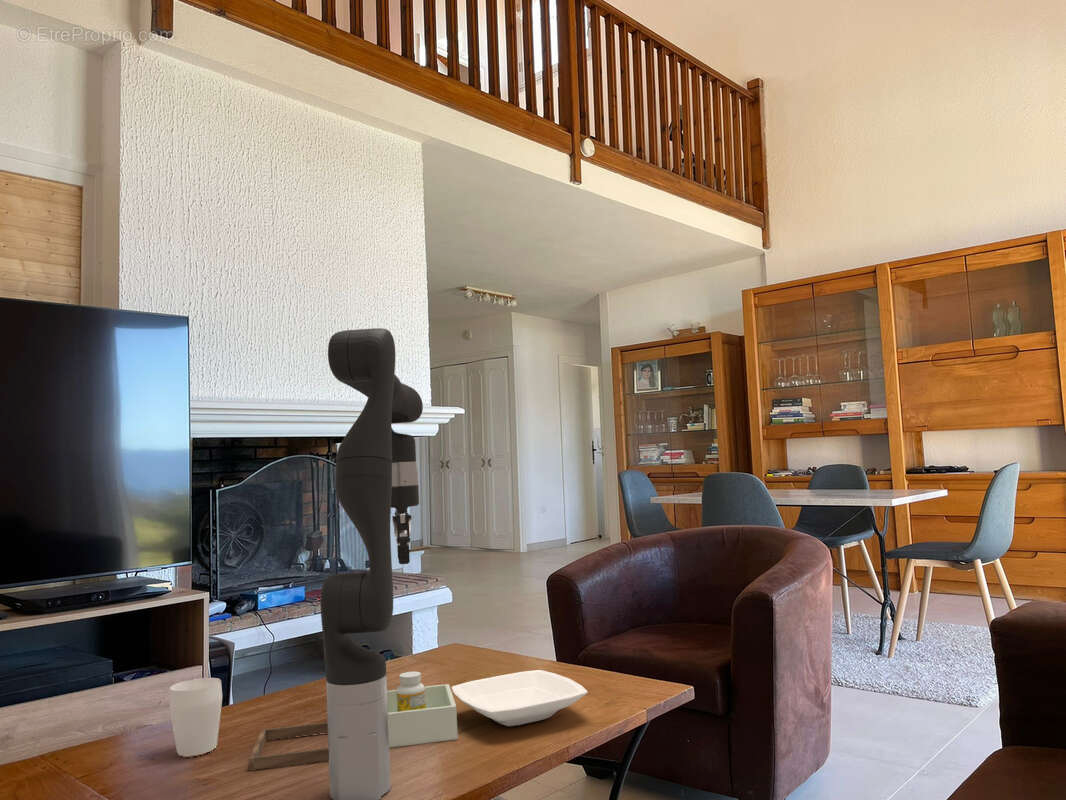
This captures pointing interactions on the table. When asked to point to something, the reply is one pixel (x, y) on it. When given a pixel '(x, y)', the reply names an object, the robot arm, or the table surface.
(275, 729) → the walnut frame
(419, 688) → the supplement bottle
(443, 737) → the plastic bin
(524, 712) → the bowl
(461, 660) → the table surface
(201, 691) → the cup
